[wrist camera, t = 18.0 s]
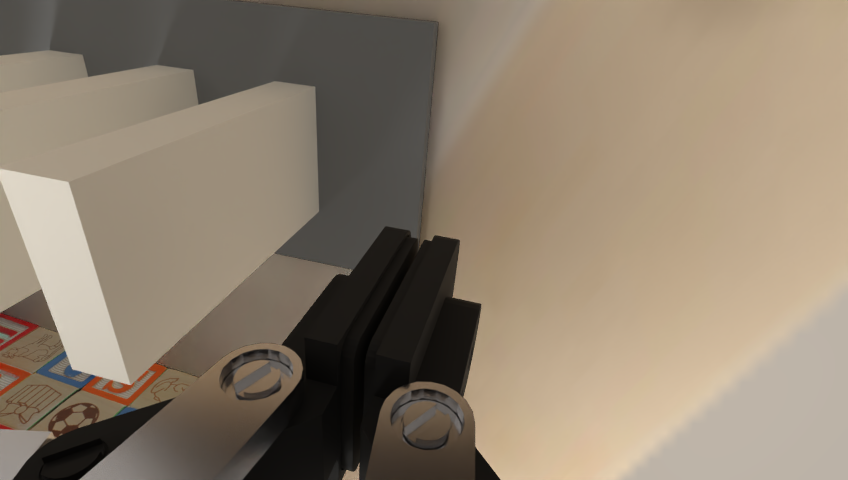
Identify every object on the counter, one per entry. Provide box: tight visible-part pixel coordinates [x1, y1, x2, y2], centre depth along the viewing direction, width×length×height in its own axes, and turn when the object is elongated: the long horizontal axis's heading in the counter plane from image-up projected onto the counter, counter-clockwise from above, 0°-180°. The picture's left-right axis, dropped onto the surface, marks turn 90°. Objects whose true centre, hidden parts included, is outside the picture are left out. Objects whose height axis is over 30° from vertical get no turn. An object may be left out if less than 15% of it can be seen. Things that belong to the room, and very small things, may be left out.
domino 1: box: [0, 65, 198, 313], centre depth 15 cm, size 5×2×10 cm, turn 175°
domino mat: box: [0, 0, 438, 270], centre depth 20 cm, size 10×30×1 cm, turn 85°
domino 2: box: [0, 81, 319, 385], centre depth 14 cm, size 5×2×10 cm, turn 175°
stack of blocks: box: [0, 313, 199, 438], centre depth 25 cm, size 21×6×12 cm, turn 81°
